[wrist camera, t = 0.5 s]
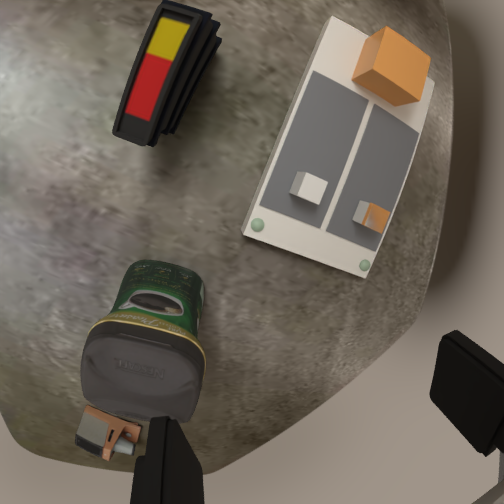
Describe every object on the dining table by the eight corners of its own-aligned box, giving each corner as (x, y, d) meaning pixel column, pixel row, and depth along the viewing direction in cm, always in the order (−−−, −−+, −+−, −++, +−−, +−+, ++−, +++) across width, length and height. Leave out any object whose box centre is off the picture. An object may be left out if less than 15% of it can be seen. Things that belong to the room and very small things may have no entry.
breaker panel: (324, 23, 29) (332, 14, 26) (423, 85, 32) (436, 82, 30) (240, 229, 35) (243, 235, 32) (356, 271, 38) (366, 279, 35)
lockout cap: (365, 39, 28) (386, 25, 23) (407, 66, 29) (430, 57, 24) (351, 79, 29) (372, 68, 24) (395, 106, 30) (420, 101, 26)
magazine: (233, 24, 26) (207, 11, 15) (187, 121, 34) (142, 172, 22) (202, 13, 25) (157, -3, 14) (159, 110, 33) (102, 156, 22)
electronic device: (138, 437, 42) (132, 471, 34) (84, 419, 39) (73, 450, 32) (142, 422, 41) (136, 457, 34) (85, 402, 39) (72, 435, 31)
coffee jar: (122, 311, 35) (72, 416, 18) (130, 251, 33) (65, 333, 16) (196, 328, 37) (195, 444, 19) (210, 270, 35) (216, 369, 18)
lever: (297, 171, 31) (306, 172, 28) (317, 180, 31) (328, 182, 28) (288, 192, 31) (297, 195, 28) (309, 201, 32) (318, 204, 29)
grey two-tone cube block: (359, 199, 33) (372, 203, 30) (376, 208, 33) (390, 212, 30) (351, 220, 33) (364, 225, 30) (368, 227, 34) (381, 233, 31)
